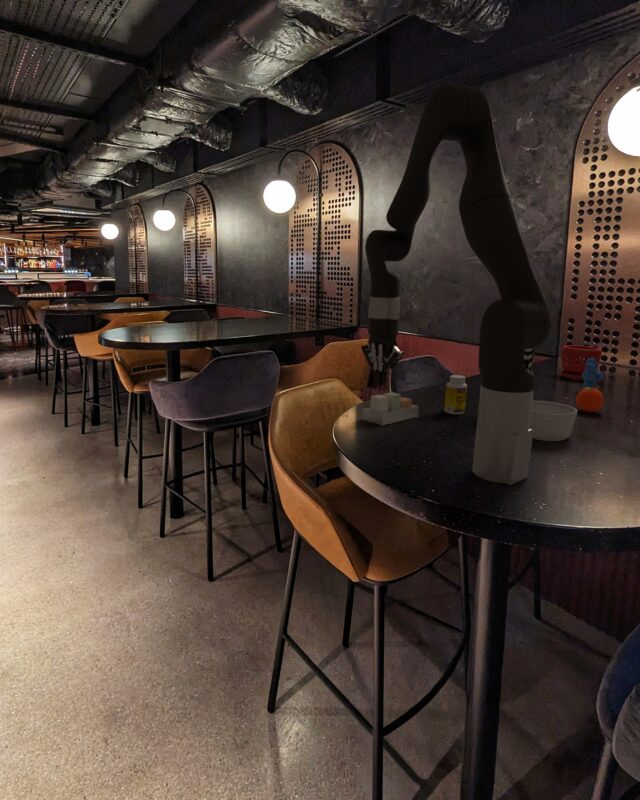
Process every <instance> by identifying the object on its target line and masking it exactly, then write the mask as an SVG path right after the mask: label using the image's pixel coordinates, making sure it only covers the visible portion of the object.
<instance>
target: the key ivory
mask: <svg viewBox="0 0 640 800" xmlns="http://www.w3.org/2000/svg"><path fill="white" fill-rule="evenodd" d="M388 400H389V397H387V396H383V394H376V395H371V396H370V406H369V407H370V410H371V411H374V412H377V413H382V412H386V411H388Z"/></svg>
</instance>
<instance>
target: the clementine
mask: <svg viewBox="0 0 640 800" xmlns="http://www.w3.org/2000/svg"><path fill="white" fill-rule="evenodd" d="M584 388H585V389H583V390H582V387H579V388H578V390H576V392H575V393H576V394H577V392H578V394H577V395H576V398H575V401H576V405H577V407H578V408H579V409H580V410H581V411H583V412H585V413H593V412H597V411H598V410H600V409H601V408H602V406H604V402H605V401H604V400H605V399H604V395H603V393H602V392H601V391H600V390H599V389H597V388H594V387H593V388H592V387H591V388H589V387H584Z"/></svg>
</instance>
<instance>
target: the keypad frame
mask: <svg viewBox="0 0 640 800" xmlns="http://www.w3.org/2000/svg"><path fill="white" fill-rule="evenodd" d="M419 411H420V405H417V404H412V403H411V406H408V407H400V408H399V409H395V410H389V409H388V411H386V412H382V413H377V412H374V411H371V410H370V406H369V407H365V408H362V416H361V417H362V419H361V420H362V421H364V420H365V422H367V421H368V422H367V423H370V422H371V423H370V424H373V423H375V424H374V425H376V424H378V425H377V426H380V425H381V426H380V427H385V426H388V425H387V424H389V425H393V424H396V422H397V423H400V421H401V422H403V421H404V420H405V421H407V419H409V420H412V419H415V417H416V418H419ZM411 418H412V419H411ZM392 423H393V424H392ZM384 425H385V426H384Z"/></svg>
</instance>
